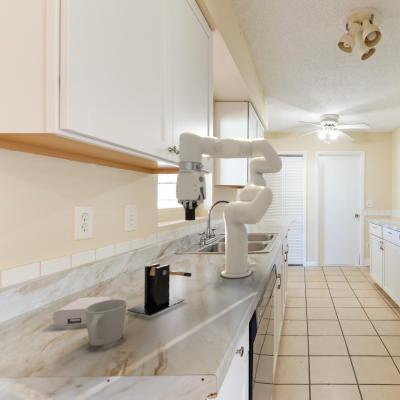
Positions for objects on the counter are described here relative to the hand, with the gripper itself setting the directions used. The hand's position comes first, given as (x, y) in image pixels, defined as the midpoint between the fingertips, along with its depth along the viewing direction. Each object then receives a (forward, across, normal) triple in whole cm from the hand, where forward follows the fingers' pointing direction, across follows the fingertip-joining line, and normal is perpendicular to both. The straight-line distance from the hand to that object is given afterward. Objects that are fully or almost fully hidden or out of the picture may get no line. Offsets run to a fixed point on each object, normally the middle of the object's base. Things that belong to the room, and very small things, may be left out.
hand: (190, 220), depth 96 cm
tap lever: (+17, -3, +11) cm, 20 cm away
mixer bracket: (+25, -3, +16) cm, 30 cm away
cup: (+25, -10, +35) cm, 45 cm away
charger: (+25, +10, +26) cm, 38 cm away
